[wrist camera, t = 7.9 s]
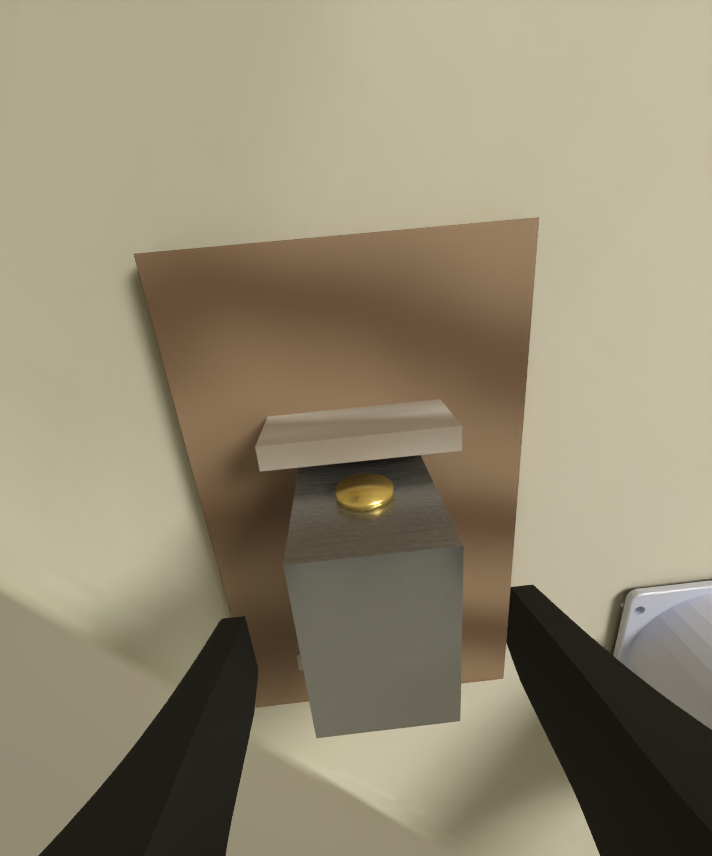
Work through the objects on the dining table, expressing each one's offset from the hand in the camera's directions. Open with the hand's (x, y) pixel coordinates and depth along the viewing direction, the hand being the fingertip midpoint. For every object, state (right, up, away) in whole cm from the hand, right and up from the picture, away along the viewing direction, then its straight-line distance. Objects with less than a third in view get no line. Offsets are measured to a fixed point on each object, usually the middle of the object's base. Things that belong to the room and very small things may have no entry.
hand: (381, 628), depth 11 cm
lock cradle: (0, +2, +6) cm, 6 cm away
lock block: (0, +2, +5) cm, 5 cm away
